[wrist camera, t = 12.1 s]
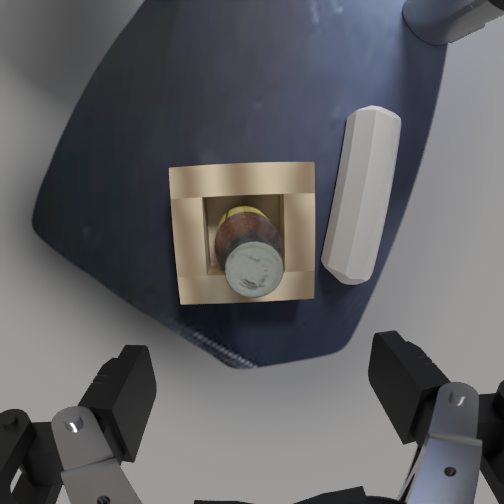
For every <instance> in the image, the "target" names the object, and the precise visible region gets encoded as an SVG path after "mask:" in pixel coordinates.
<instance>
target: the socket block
mask: <svg viewBox="0 0 504 504" xmlns="http://www.w3.org/2000/svg"><path fill="white" fill-rule="evenodd" d="M169 179H170V196H171V211H172V224H173V236H174V247H175V258H176V268H177V277H178V286H179V295H180V303H181V304H216V303H242V302H263V301H281V300H298V299H313V298H314V276H315V176H314V162H267V163H238V164H218V165H201V166H187V167H175V168H169ZM240 205H248V206H252V207H255V208H257V209H258V210H260V211H261V212H262V213H263V214H264V215H265V216H266V217H267V218H268V219H269V220H270V221H271V222H272V223H273V225H274V226H275V227H276V229H277V231H278V233H279V236H280V240H281V258H282V261H283V267H284V273H283V277H282V279H281V281H280V283H279V285H278V286H277V288H276V289H275V290H274V291H272V292H271V293H270V294H267V295H265V296H262V297H257V298H252V297H244V296H241V295H239V294H238V293H236V292H235V291H234V290H232V288H231V287H230V286H229V284H228V283H227V280H226V277H225V273H224V271H222V270H221V269H220V265H219V263H218V261H217V257H216V254H215V248H214V246H215V236H216V232H217V229H218V225H219V222H220V220H221V218H222V216H223V215H224V214H225V213H226V212H227V211H228V210H229V209H231V208H233V207H236V206H240Z"/></svg>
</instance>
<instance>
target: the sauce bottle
mask: <svg viewBox="0 0 504 504" xmlns="http://www.w3.org/2000/svg"><path fill="white" fill-rule="evenodd" d="M214 248H215V254H216V257H217V261H218V263H219V265H220V269H221V270H222V271H224V273H225V277H226V280H227V283H228V284H229V286H230V287H231V288H232V290H234V291H235V292H236V293H238V294H239V295H241V296H244V297H252V298H257V297H262V296H265V295H267V294H270V293H271V292H272V291H274V290H275V289H276V288H277V286H278V285H279V283H280V281H281V279H282V277H283V273H284V267H283V261H282V258H281V240H280V236H279V233H278V231H277V229H276V227H275V226H274V225H273V223H272V222H271V221H270V220H269V219H268V218H267V217H266V216H265V215H264V214H263V213H262V212H261V211H260V210H258V209H257V208H255V207H252V206H248V205H240V206H236V207H233V208H231V209H229V210H228V211H227V212H226V213H225V214H224V215H223V216H222V218H221V220H220V222H219V225H218V229H217V232H216V236H215V246H214Z"/></svg>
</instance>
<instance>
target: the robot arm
mask: <svg viewBox="0 0 504 504" xmlns="http://www.w3.org/2000/svg"><path fill="white" fill-rule="evenodd" d="M502 15H504V0H407V1H406V2H405V3H404V5H403V16H404V19H405V21H406V23H407V25H408V26H409V28H410V29H411V30H412V31H413V32H414V34H415V35H417V36H418V37H419V38H420V39H422V40H423V41H425V42H427V43H429V44H432V45H438V46H439V45H443V44H445V43H447V42H449V43H453V42H455V41H457V40H459V39H461V38H463V37H465V36H467V35H469V34H471V33H473V32H475V31H477V30H479V29H482V28H483V27H484V26H485V23H487V22H489V21H491V20H494V19H496V18H498V17H500V16H502ZM368 376H369V382H370V384H371V386H372V388H373V389H374V392H375V393H376V395H377V397H378V399H379V401H380V403H381V404H382V406H383V408H384V410H385V412H386V413H387V415H388V417H389V419H390V421H391V423H392V424H393V426H394V428H395V430H396V432H397V434H398V435H399V437H400V439H401V441H402V443H403V445H404V444H407V443H411V442H415V441H416V443H417V444H418V446H417V449H416V451H415V454H414V456H413V459H412V462H411V465H410V468H409V471H408V473H407V476H406V478H405V481H404V483H403V486H402V488H401V491H400V493H399V495H398V497H397V499H396V500H395V499H391V498H387V497H380V496H366V495H365V492H364V489H363V486H360V487H355V488H350V489H345V490H341V491H335V492H329V493H323V494H320V495H318V496H315V497H312V498H309V499H306V500H303V501H300V502H297V503H294V504H473V503H474V498H475V493H476V487H477V482H478V476H479V469H480V470H481V472H482V474H483V476H484V477H485V479H486V481H487V483H488V485H489V486H490V488H491V490H492V492H493V493H494V495H495V497H496V499H497V501H498V503H499V504H504V380H503V381H502V382H501V383H500V385H499V387H498V389H497V392H496V393H492V394H480V395H478V393H477V391H476V390H475V389H474V388H473V387H471V386H469V385H468V384H465V383H461V382H450V381H449V379H448V378H447V377H446V376H445V375H444V374H443V373H442V371H441V370H440V369H439V368H438V367H437V366H436V365H435V364H434V363H432V360H431V359H430V358H429V357H427V356H426V354H425V353H424V351H423V350H422V349H421V348H420V347H418V346H416V345H414V344H413V343H411V342H409V341H407V342H405V340H404V339H403V338H402V337H401V336H400V335H399V334H398V332H397V331H394V330H393V331H387V332H379V333H375V335H374V337H373V342H372V349H371V356H370V362H369V368H368ZM155 397H156V380H155V375H154V371H153V367H152V362H151V358H150V354H149V350H148V347H147V346H145V345H126V346H125V347H124V348H123V350H122V351H121V353H120V355H119V356H118V358H112V359H110V360H109V361H108V362H106V363H105V364H104V365H103V366H102V367H101V369H100V370H99V372H98V373H97V376H96V377H95V378H94V380H93V383H91V385H90V386H89V388H88V389H87V391H86V393H85V394H84V396H83V397H82V399H81V401H80V402H79V404H78V406H73V407H68V408H65V409H63V410H61V411H59V412H58V413H57V414H56V415H55V416H54V417H53V419H52V422H35V423H32V422H31V420H30V419H29V417H28V415H27V413H26V412H24V411H23V410H19V409H10V410H6V411H4V412H2V413H0V504H55V503H56V501H57V498H58V495H59V493H60V490H61V487H62V485H64V486H65V489H66V492H67V495H68V497H69V500H70V502H71V504H142V502H141V501H140V499H139V497H138V496H137V494H136V493H135V491H134V489H133V488H132V486H131V484H130V483H129V481H128V479H127V478H126V476H125V474H124V472H123V471H122V469H121V467H120V465H121V462H122V461H126V462H134V461H135V458H136V455H137V452H138V449H139V446H140V442H141V439H142V436H143V433H144V430H145V427H146V424H147V421H148V418H149V415H150V412H151V409H152V406H153V403H154V400H155ZM18 468H19V469H20V470H21V472H22V474H21V475H20V477H19V479H18V482H17V484H16V486H15V488H14V490H13V492H12V494H11V491H10V485H11V482H12V480H13V478H14V476H15V474H16V472H17V470H18ZM194 504H252V503H245V502H239V501H202V500H195V501H194Z"/></svg>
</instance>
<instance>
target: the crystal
mask: <svg viewBox="0 0 504 504" xmlns="http://www.w3.org/2000/svg"><path fill="white" fill-rule="evenodd" d="M400 131H401V118H400V117H399V116H398V115H397V114H395V113H394V112H391V111H389V110H387V109H385V108H382V107H378V106H372V105H371V106H368V107H365V108H362V109H359V110H356V111H355V112H354V113H352V114H351V115H350V116H348V117H347V123H346V129H345V136H344V142H343V148H342V154H341V160H340V166H339V172H338V177H337V183H336V188H335V193H334V199H333V204H332V209H331V214H330V219H329V224H328V229H327V233H326V238H325V243H324V248H323V252H322V257H321V261H322V263H323V265H324V267H325V268H326V269H327V270H328V271H329V272H331V273H332V274H333V275H334V276H335V277H336V278H337V279H338V280H339V281H340V282H341V283H344V284H351V285H357V284H360V283H363V282H366V281H367V280H368V279H370V277H371V275H372V273H373V269H374V265H375V261H376V257H377V253H378V249H379V245H380V241H381V236H382V232H383V227H384V223H385V218H386V213H387V209H388V204H389V199H390V193H391V188H392V183H393V177H394V171H395V165H396V159H397V152H398V145H399V138H400Z"/></svg>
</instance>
